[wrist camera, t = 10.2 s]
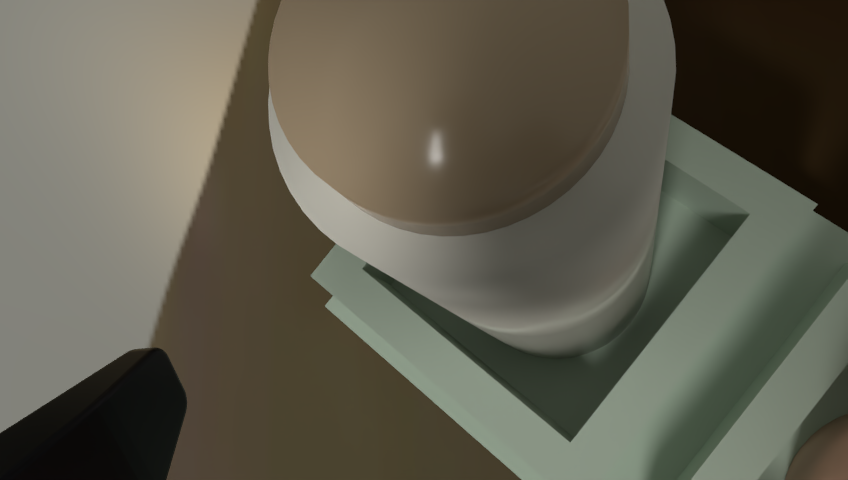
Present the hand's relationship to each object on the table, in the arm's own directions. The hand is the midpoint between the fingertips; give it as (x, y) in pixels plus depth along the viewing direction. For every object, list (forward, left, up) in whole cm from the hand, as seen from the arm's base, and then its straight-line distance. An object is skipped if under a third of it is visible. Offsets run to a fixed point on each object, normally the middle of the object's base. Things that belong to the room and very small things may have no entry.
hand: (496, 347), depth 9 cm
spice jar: (+2, -2, -11) cm, 11 cm away
